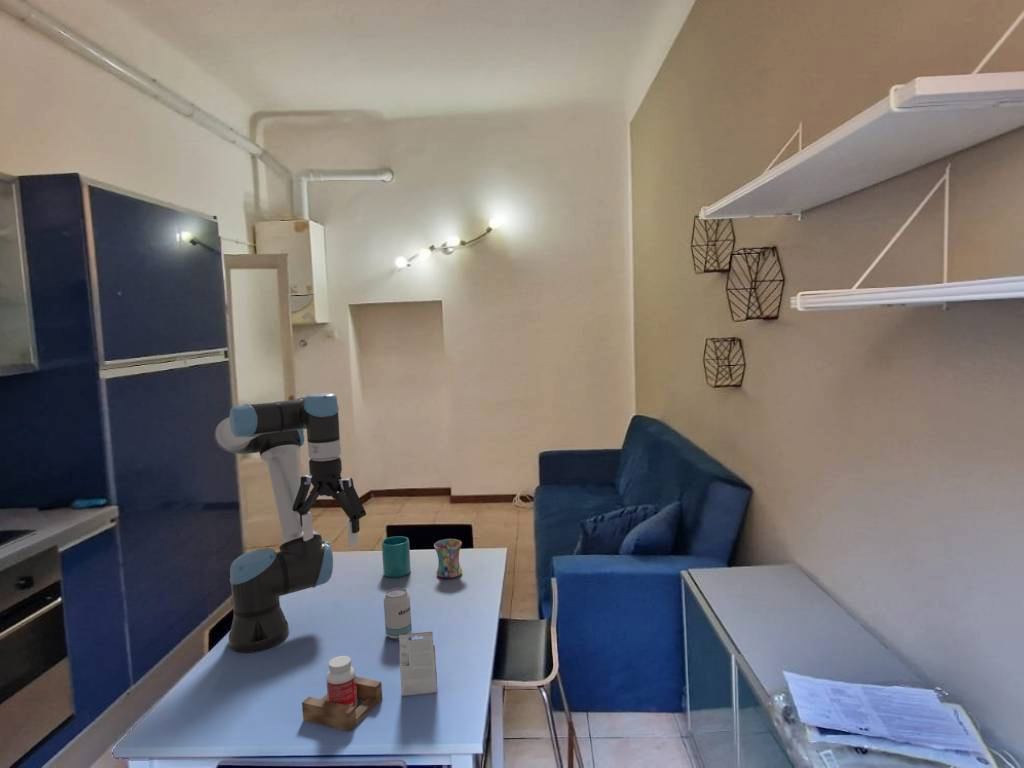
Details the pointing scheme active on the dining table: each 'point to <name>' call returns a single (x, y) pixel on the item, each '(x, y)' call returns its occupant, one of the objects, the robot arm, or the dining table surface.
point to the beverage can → (397, 613)
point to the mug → (448, 558)
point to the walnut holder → (343, 707)
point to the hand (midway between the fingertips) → (330, 542)
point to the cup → (396, 556)
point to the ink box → (417, 664)
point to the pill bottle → (341, 682)
